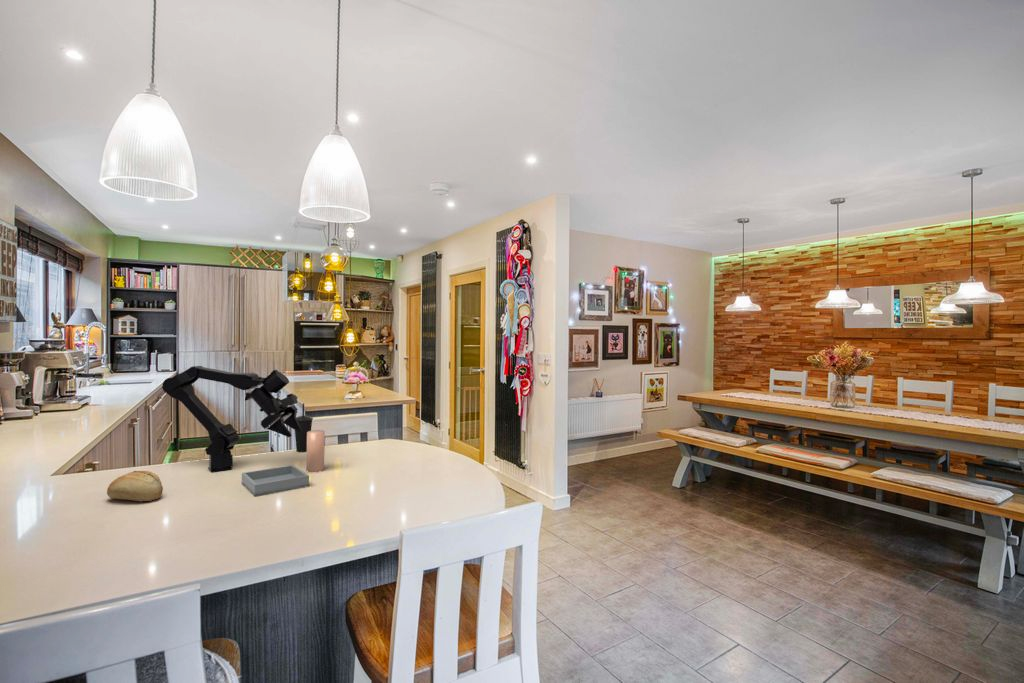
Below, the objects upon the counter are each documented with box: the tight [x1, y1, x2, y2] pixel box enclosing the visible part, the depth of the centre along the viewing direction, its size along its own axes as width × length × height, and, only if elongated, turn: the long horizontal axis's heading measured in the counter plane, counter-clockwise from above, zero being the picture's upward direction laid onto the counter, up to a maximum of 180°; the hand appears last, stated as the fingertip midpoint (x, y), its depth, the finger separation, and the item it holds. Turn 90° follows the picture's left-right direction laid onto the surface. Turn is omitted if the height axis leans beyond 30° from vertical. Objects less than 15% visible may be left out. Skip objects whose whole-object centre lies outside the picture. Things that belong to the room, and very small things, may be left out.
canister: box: [305, 429, 326, 473], centre depth 172 cm, size 6×6×14 cm
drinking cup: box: [294, 402, 314, 453], centre depth 199 cm, size 8×8×20 cm
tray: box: [241, 464, 310, 497], centre depth 154 cm, size 16×16×4 cm
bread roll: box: [106, 470, 164, 502], centre depth 139 cm, size 10×15×8 cm, turn 88°
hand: (295, 433), depth 172 cm, fingers open, 9 cm apart
